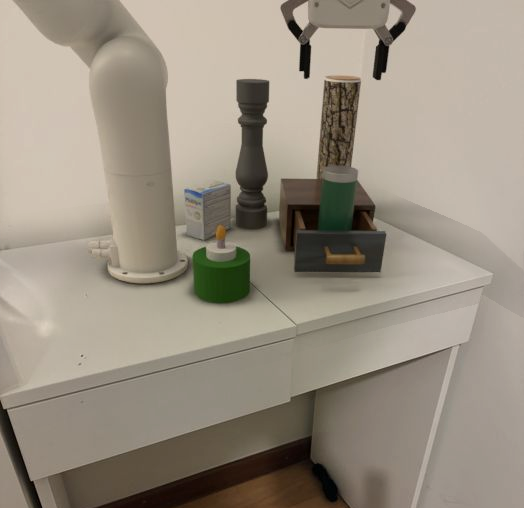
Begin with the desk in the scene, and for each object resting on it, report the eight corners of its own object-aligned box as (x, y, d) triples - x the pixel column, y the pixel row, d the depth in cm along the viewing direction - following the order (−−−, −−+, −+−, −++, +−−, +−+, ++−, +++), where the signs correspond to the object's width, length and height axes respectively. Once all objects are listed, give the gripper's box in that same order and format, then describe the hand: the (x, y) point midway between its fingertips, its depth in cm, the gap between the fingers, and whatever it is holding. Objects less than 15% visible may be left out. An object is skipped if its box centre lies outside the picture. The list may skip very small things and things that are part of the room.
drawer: (388, 286, 77) (395, 246, 74) (297, 286, 77) (300, 245, 73) (361, 238, 93) (366, 203, 90) (286, 237, 93) (288, 202, 89)
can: (318, 256, 83) (325, 174, 76) (314, 244, 88) (320, 165, 80) (351, 256, 83) (361, 174, 76) (345, 244, 88) (354, 165, 81)
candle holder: (238, 217, 104) (238, 78, 91) (268, 219, 104) (273, 79, 90) (232, 227, 99) (231, 81, 85) (264, 230, 98) (268, 83, 85)
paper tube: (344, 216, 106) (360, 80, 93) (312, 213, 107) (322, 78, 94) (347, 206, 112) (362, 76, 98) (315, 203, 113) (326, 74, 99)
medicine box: (213, 224, 101) (212, 178, 96) (231, 229, 98) (231, 183, 94) (185, 235, 95) (183, 188, 90) (204, 241, 93) (202, 193, 88)
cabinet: (368, 251, 91) (375, 205, 86) (285, 251, 90) (287, 204, 86) (352, 221, 104) (357, 179, 99) (278, 220, 103) (280, 178, 99)
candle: (192, 303, 73) (189, 236, 68) (195, 278, 80) (192, 215, 75) (251, 303, 74) (252, 236, 68) (248, 277, 81) (249, 215, 75)
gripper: (282, -89, 59) (278, 80, 68) (435, -87, 58) (410, 82, 68) (282, -79, 65) (278, 74, 74) (421, -78, 64) (399, 76, 74)
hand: (341, 78), depth 71 cm, fingers open, 9 cm apart
